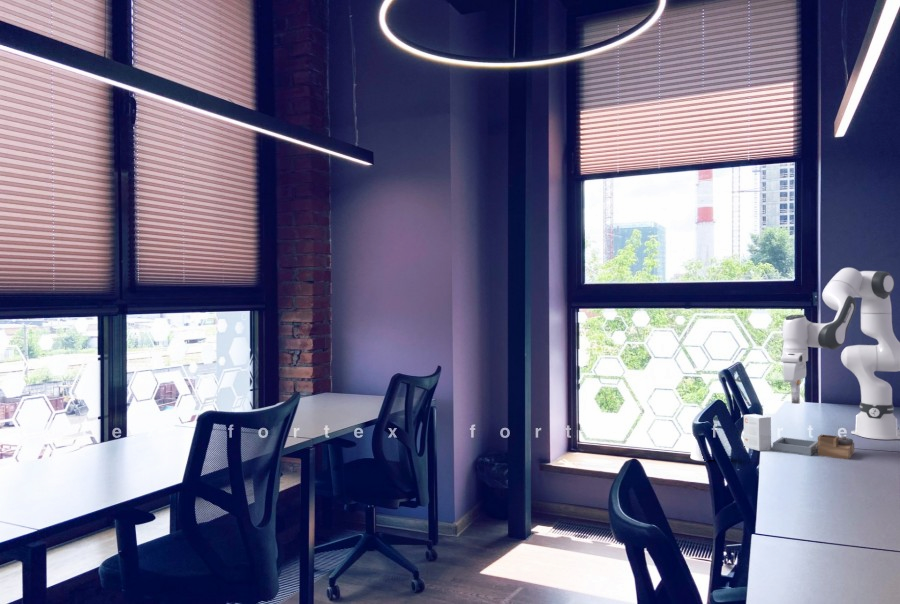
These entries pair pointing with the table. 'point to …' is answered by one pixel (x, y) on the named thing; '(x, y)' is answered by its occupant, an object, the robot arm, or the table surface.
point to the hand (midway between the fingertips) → (795, 391)
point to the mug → (695, 449)
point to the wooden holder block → (835, 446)
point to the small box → (757, 432)
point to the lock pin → (796, 394)
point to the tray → (795, 446)
